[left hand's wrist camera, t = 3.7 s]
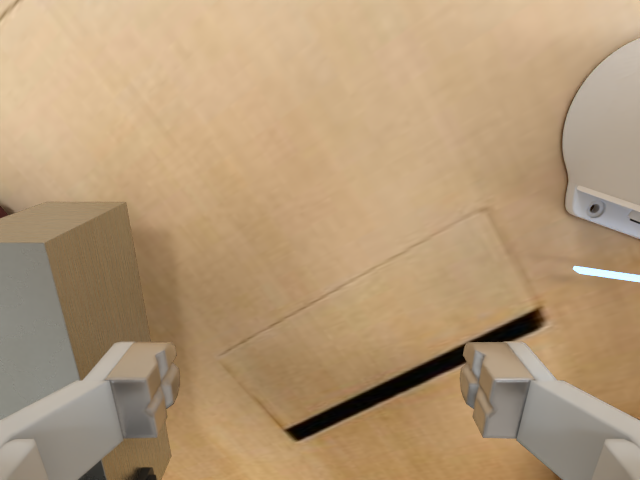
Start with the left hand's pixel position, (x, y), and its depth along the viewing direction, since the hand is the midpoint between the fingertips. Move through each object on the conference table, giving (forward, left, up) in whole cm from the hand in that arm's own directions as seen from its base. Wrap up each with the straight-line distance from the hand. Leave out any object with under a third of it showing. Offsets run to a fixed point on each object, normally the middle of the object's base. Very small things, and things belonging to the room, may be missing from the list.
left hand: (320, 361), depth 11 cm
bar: (+9, +20, -18) cm, 29 cm away
